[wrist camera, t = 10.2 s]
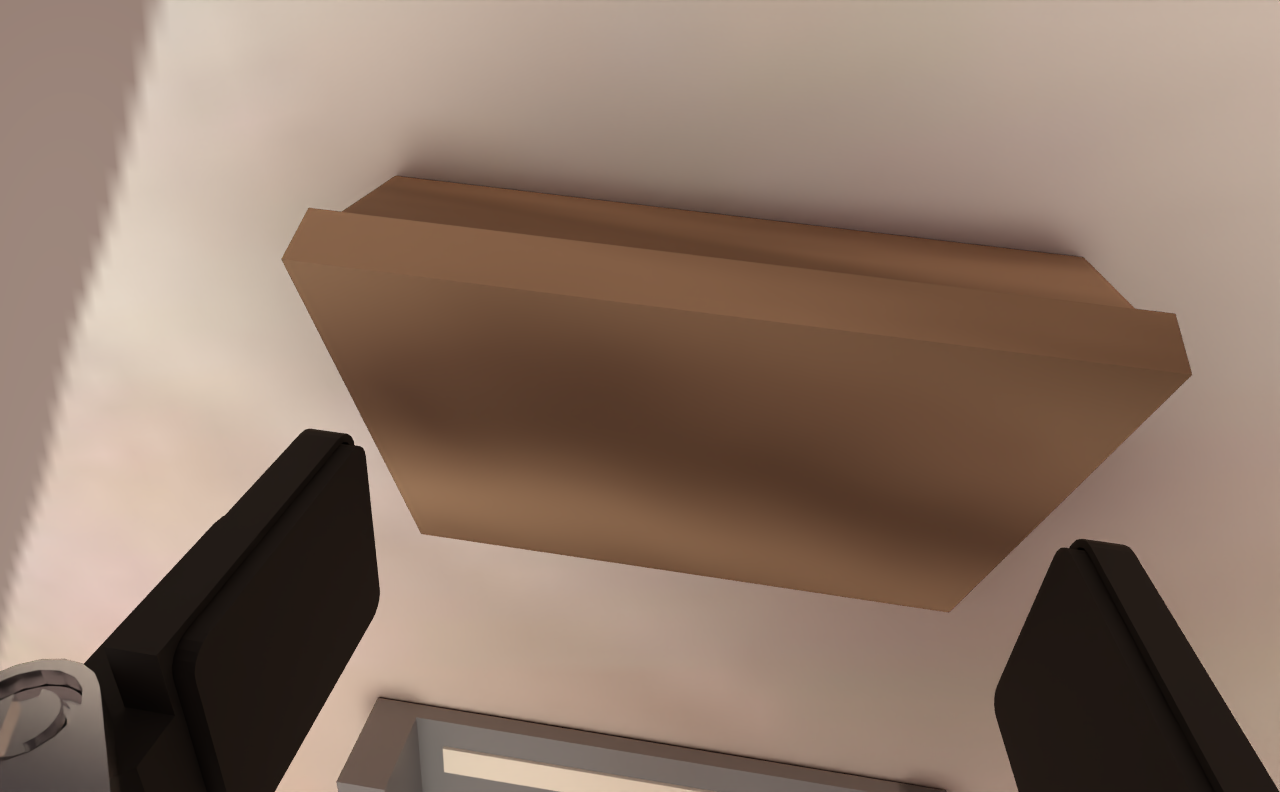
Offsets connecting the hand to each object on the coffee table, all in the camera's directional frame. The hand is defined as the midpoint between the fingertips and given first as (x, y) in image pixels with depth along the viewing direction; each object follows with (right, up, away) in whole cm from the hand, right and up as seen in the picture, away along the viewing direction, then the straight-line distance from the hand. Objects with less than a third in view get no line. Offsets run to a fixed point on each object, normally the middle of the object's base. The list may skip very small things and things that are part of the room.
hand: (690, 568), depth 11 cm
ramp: (+1, +2, +5) cm, 5 cm away
